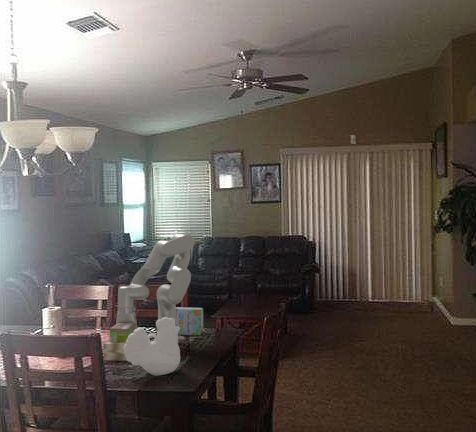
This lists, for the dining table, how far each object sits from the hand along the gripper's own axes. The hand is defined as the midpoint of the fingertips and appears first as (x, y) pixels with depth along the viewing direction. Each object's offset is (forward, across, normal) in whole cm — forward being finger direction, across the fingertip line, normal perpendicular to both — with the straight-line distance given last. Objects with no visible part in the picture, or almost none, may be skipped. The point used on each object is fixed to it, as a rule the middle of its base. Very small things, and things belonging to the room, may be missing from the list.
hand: (126, 345), depth 299 cm
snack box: (+3, -25, -36) cm, 44 cm away
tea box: (+2, -1, +10) cm, 10 cm away
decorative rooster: (+2, -21, +42) cm, 47 cm away
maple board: (+2, 0, +20) cm, 20 cm away
